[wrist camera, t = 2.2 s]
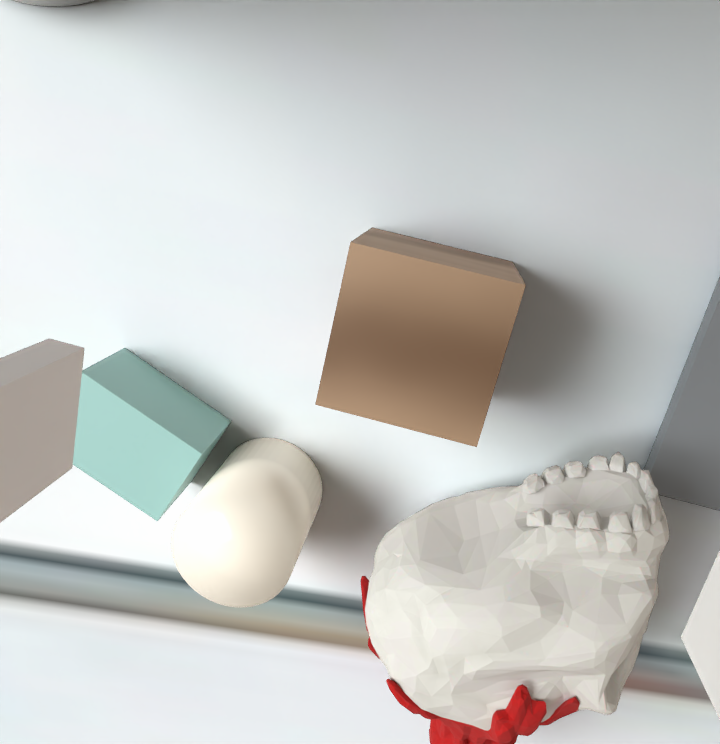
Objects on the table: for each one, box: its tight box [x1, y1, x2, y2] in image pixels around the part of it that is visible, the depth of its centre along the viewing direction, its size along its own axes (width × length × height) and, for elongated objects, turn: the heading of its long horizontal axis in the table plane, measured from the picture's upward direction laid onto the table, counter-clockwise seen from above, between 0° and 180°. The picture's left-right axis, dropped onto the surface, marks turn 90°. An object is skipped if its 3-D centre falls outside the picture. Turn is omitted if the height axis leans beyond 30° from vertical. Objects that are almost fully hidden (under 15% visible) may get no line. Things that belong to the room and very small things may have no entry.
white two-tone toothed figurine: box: [361, 452, 669, 744], centre depth 28 cm, size 9×11×15 cm
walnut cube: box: [315, 228, 526, 447], centre depth 26 cm, size 6×6×6 cm
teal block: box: [73, 348, 231, 521], centre depth 31 cm, size 4×6×4 cm, turn 56°
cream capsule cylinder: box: [171, 438, 323, 607], centre depth 30 cm, size 5×5×6 cm
